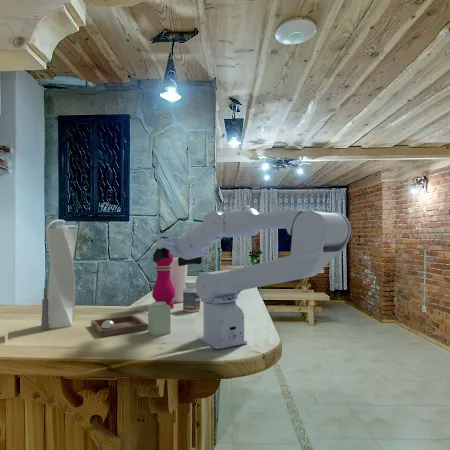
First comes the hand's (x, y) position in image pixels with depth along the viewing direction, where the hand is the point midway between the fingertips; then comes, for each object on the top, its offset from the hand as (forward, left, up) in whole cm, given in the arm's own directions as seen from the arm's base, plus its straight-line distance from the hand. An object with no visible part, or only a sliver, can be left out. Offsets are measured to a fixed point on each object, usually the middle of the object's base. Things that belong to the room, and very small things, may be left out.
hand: (167, 260), depth 92 cm
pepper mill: (+18, -7, -17) cm, 26 cm away
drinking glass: (+25, -15, -17) cm, 34 cm away
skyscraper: (+11, +24, -17) cm, 32 cm away
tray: (0, +12, -17) cm, 21 cm away
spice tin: (-9, +5, -17) cm, 20 cm away
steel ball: (-3, +16, -16) cm, 23 cm away
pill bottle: (+10, -13, -17) cm, 23 cm away
